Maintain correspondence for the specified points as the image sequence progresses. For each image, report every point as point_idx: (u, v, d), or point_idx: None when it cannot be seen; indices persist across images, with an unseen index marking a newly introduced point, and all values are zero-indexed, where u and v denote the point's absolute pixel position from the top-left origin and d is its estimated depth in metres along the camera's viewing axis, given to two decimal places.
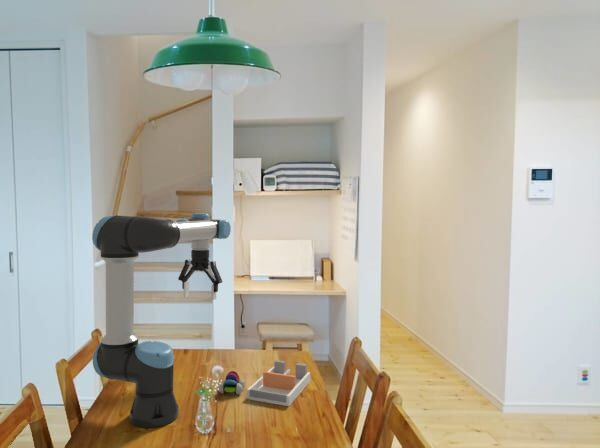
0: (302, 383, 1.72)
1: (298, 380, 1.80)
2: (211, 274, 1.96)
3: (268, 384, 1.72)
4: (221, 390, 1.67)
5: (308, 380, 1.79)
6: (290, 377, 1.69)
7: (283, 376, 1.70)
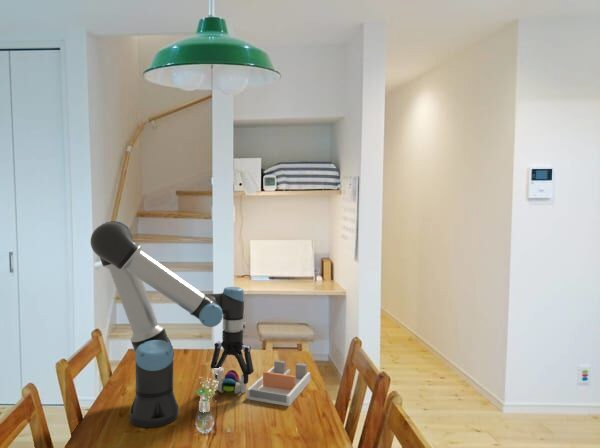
0: (302, 383, 1.72)
1: (298, 380, 1.80)
2: (243, 361, 1.68)
3: (268, 384, 1.72)
4: (220, 389, 1.66)
5: (308, 380, 1.79)
6: (290, 377, 1.69)
7: (283, 376, 1.70)
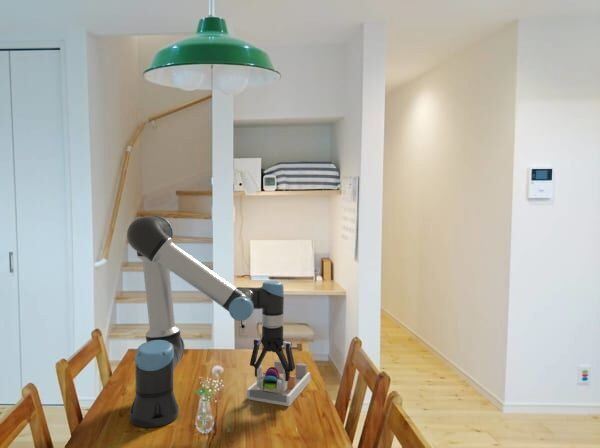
0: (302, 383, 1.72)
1: (298, 380, 1.80)
2: (284, 358, 1.62)
3: None
4: (261, 386, 1.60)
5: (308, 380, 1.79)
6: (290, 377, 1.69)
7: None
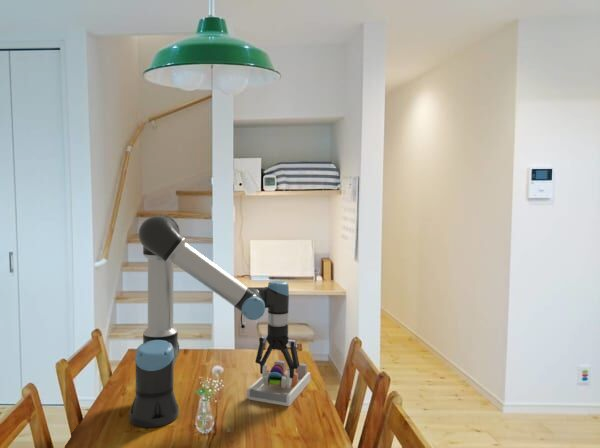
0: (302, 383, 1.72)
1: (298, 380, 1.80)
2: (288, 356, 1.67)
3: None
4: (266, 382, 1.65)
5: (308, 380, 1.79)
6: None
7: None
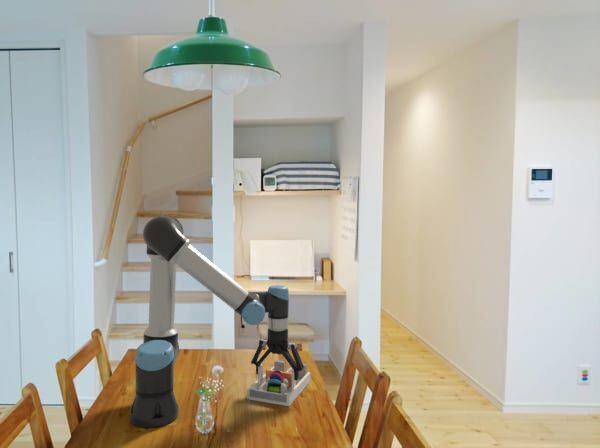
0: (302, 383, 1.72)
1: (298, 380, 1.80)
2: (291, 358, 1.67)
3: None
4: (265, 389, 1.65)
5: (308, 380, 1.79)
6: None
7: (285, 374, 1.72)
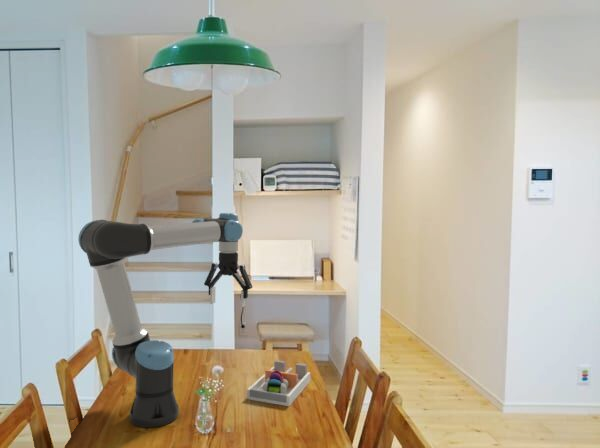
0: (302, 383, 1.72)
1: (298, 380, 1.80)
2: (240, 279, 1.82)
3: None
4: (265, 390, 1.65)
5: (308, 380, 1.79)
6: (292, 375, 1.71)
7: (285, 374, 1.72)
